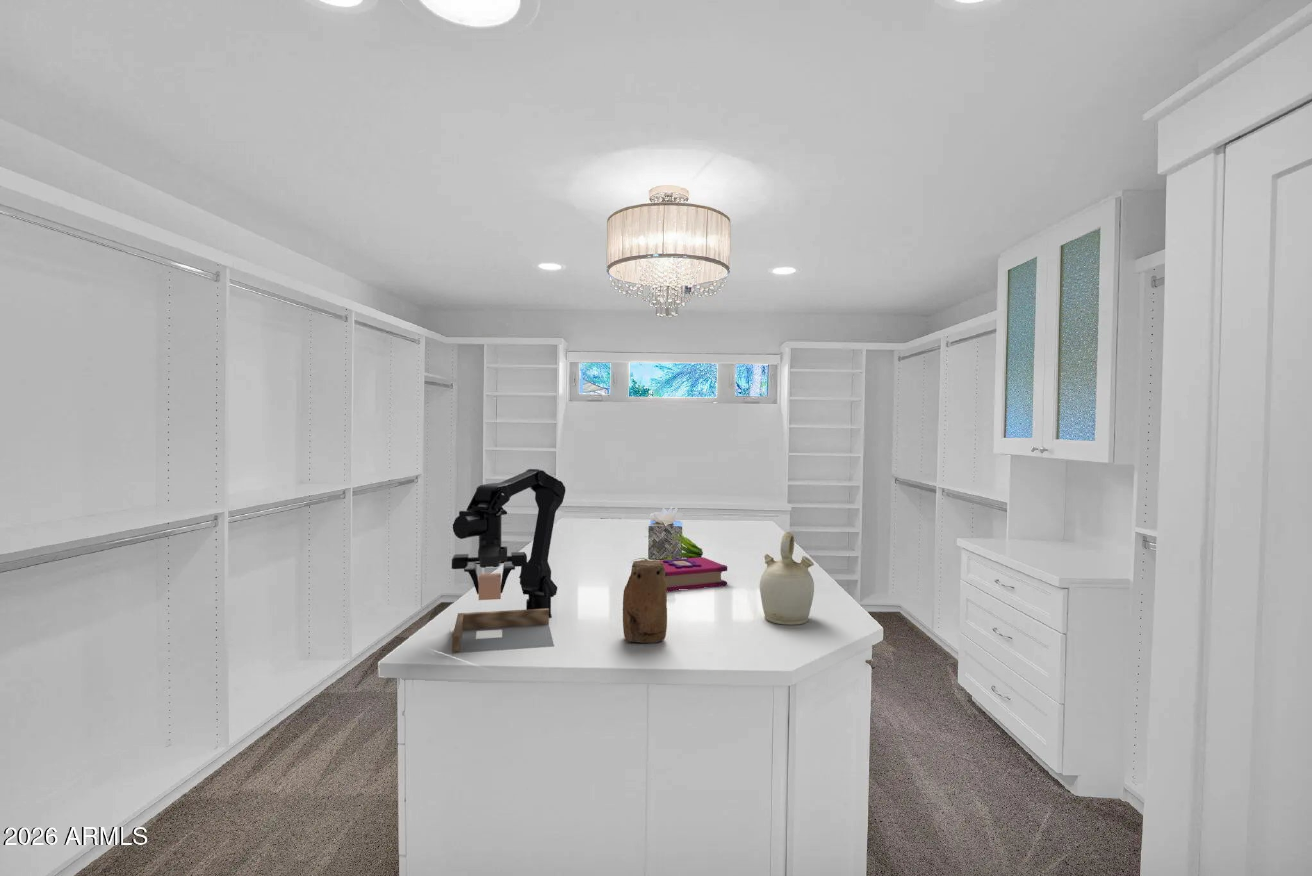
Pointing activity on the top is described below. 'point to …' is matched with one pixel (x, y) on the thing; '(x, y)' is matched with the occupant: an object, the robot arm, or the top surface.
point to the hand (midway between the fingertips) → (489, 593)
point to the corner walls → (496, 621)
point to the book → (693, 573)
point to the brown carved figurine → (645, 603)
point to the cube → (490, 586)
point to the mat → (506, 638)
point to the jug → (787, 586)
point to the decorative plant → (689, 552)
